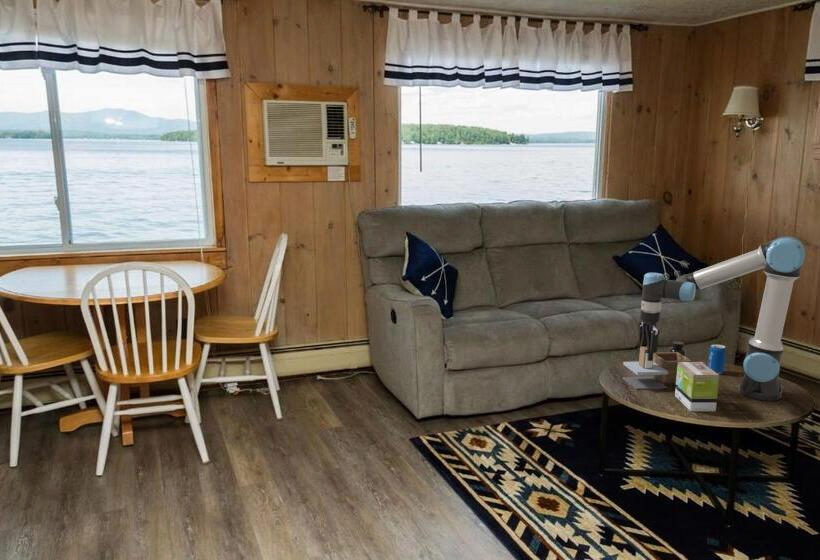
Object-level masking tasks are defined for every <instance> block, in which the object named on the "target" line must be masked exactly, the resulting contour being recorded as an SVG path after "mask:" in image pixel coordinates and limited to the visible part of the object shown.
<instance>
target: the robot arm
mask: <svg viewBox="0 0 820 560" xmlns="http://www.w3.org/2000/svg"><path fill="white" fill-rule="evenodd" d="M805 259H806V246H805V244H804V242H803V241H802V240H801V239H800V238H798V237H797V236H795V235H791V234H784V235H780V236H778V237H776V238H774V239H773V240H771V241H768V242H766V243H763V244H761V245H760V244H759V246H758V248H757V249H753V250H752V251H749V252H746V253H744V254H741V255H738V256H734V257H731V258H729V259H726V260H724V261H721V262H718V263H716V264H713V265H710V266H707V267H705V268H701V269H699V270H696V271H694V272H691V273H688V274H683V275H680V276H678V277H677V278H676V279H675V280H670V279H665V276H664V274H663V273H658V272H647V273H645V274H644V275H643V283H642V294H641V295H642V296H641V303H640V313H639V314H640V316H639V319H640V320H641V321H640V322H638V337H637V338H638V341H637V344H638V346H639V348H640V347H647V351H646V358H645V368H652V360H653V353H658V343H659V335H660V332H661V331H660V329H657V323H658V322H660V320H661V310H662V299H667V300H674V301H675V300H676V301H682V302H693V301H694V300H695V297H696V292H698V291H700V290H703V289H705V288H708V287H711V286H714V285H715V286H716V285H718V284H721V283H724V282H727V281H729V280H732V279H736V278H738V277H741V276H744V275H747V274H750V273H754V272H756V271H759V270H761V269H763V273H764V274H765V276H766V281H765V287H764V290H763V295H762V300H761V305H760V310H759V313H758V314H759V315H758V319H757V323H756V328H755V333H754V336H750V338H749V339H748V343H747V349H746V354H745V357H744V360H743V364H742V366H743V370H744V374H743V377H742V379H741V381H740V383H739V384H738V393H740V394H741V395H743V396H745V397H748V398H751V399H754V400H760V401H770V402H771V401H777V400H780V399H781V398H782V395H783V394H782V393H783V392H782V387H781V384H780V383H781V382H780V378H779V377H780V376H779V375H780V370H781V362H782V359H783V358H782V357H783V352H784V346H783V342H782V336H783V331H784V327H785V322H786V317H787V314H788V309H789V304H790V301H791V296H792V291H793V286H794V282H795V281H796V280H798V279H799V278H801V272H802V268H803V264H804V263H805Z"/></svg>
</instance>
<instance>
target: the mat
mask: <svg viewBox="0 0 820 560" xmlns="http://www.w3.org/2000/svg"><path fill="white" fill-rule="evenodd" d="M622 380H623V381H625V382H626V383H627V382H628V383H627V384H629V385H630V386H631V385H632V386H633V387H632V386H631V387H632V388H634V389H635V390H636V389H641V390H664V389H663V388H667V389H668V387H667V386H666V385H663V384H662V383H660V382H659V381H658V380H656V379H655V378H653V377H652V376H650V375H648V376H623V377H622ZM660 388H661V389H660Z"/></svg>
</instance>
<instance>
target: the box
mask: <svg viewBox="0 0 820 560" xmlns="http://www.w3.org/2000/svg"><path fill="white" fill-rule="evenodd" d="M653 362H655V363H656V364H658V365H659V366H661V367H662V368H664V369H665V370H667V371H668V374H662V375H649V376H652V377H653V378H655V379H656V380H658V381H659V382H660V383H662V384H672V385H676V377H677V365H678V362H693V360H692V359H689V357H686V355H685V356H683V355H681V354H680V353H678V352H669V351H666V352H656V353H654V356H653Z"/></svg>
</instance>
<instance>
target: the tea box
mask: <svg viewBox="0 0 820 560" xmlns="http://www.w3.org/2000/svg"><path fill="white" fill-rule="evenodd" d="M719 383H720V374H717V373H716V372H715V371H713V370H712V369H711V368H709V367H708V364H706V363H704V362H702V361H692V362H678V365H677V377H676V384H675V391H674V396H675V398H676V399H678V401H680V402H681V403H682V405H683V406H685V408H687V409H688V411H689V412H716V411H717V403H718V402H717V400H718V393H719Z"/></svg>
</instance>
